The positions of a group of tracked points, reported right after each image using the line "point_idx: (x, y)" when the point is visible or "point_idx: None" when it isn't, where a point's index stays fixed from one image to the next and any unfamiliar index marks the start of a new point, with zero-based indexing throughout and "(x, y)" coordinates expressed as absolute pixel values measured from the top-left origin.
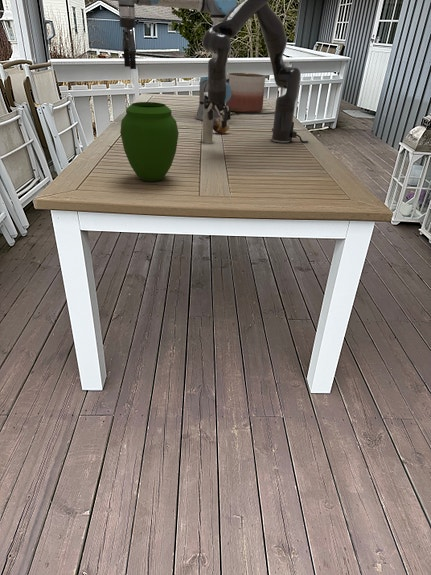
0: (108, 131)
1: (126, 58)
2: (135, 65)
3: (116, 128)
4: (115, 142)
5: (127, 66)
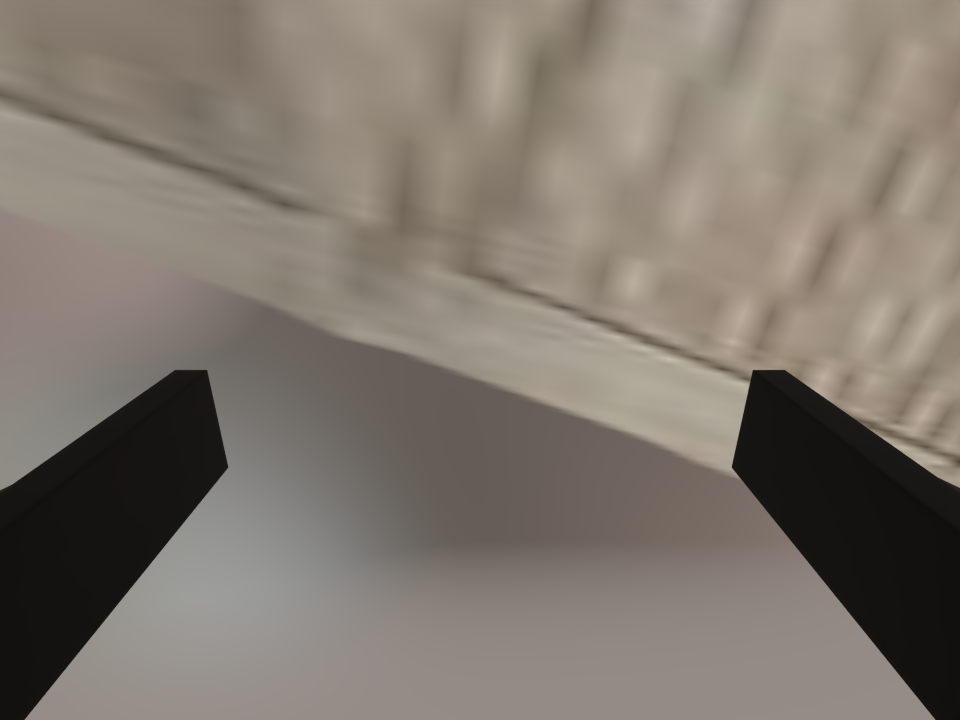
0: (613, 422)
1: (119, 533)
2: (823, 406)
3: (540, 366)
4: (885, 431)
5: (216, 422)
